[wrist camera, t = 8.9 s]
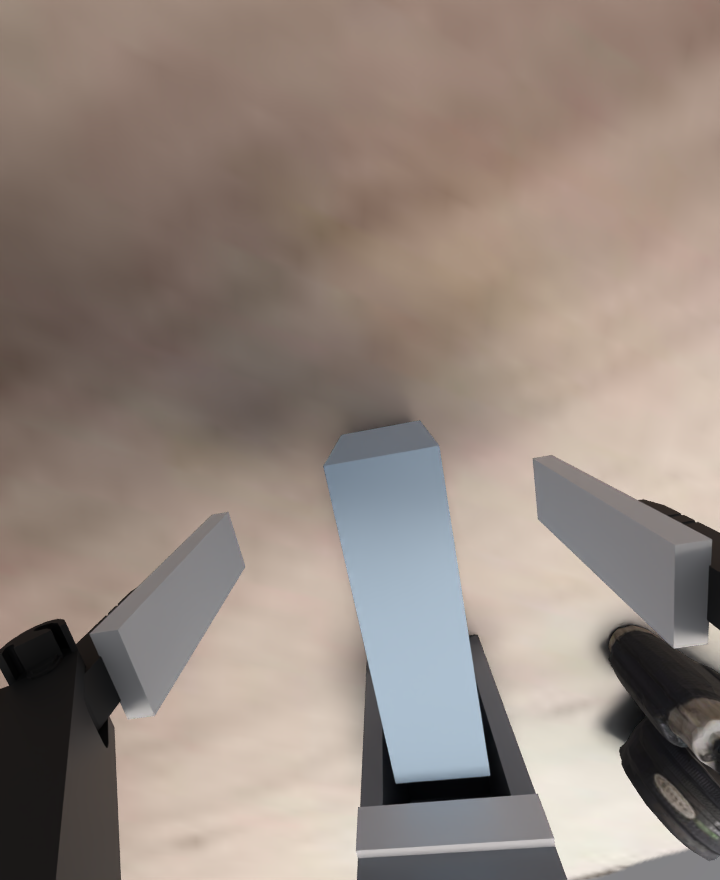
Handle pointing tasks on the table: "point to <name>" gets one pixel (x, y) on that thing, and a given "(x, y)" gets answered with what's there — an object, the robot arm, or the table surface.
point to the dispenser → (453, 808)
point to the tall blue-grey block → (409, 599)
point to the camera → (672, 736)
